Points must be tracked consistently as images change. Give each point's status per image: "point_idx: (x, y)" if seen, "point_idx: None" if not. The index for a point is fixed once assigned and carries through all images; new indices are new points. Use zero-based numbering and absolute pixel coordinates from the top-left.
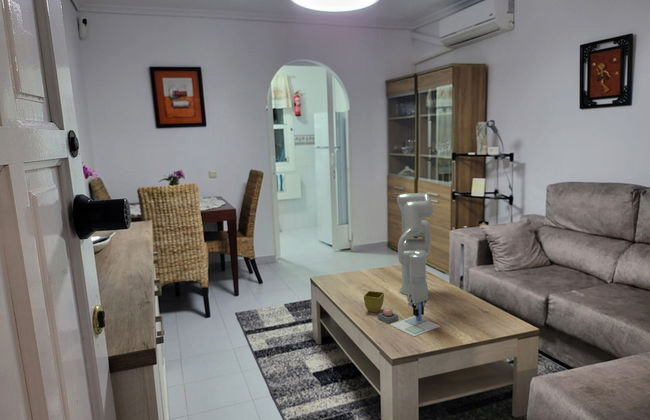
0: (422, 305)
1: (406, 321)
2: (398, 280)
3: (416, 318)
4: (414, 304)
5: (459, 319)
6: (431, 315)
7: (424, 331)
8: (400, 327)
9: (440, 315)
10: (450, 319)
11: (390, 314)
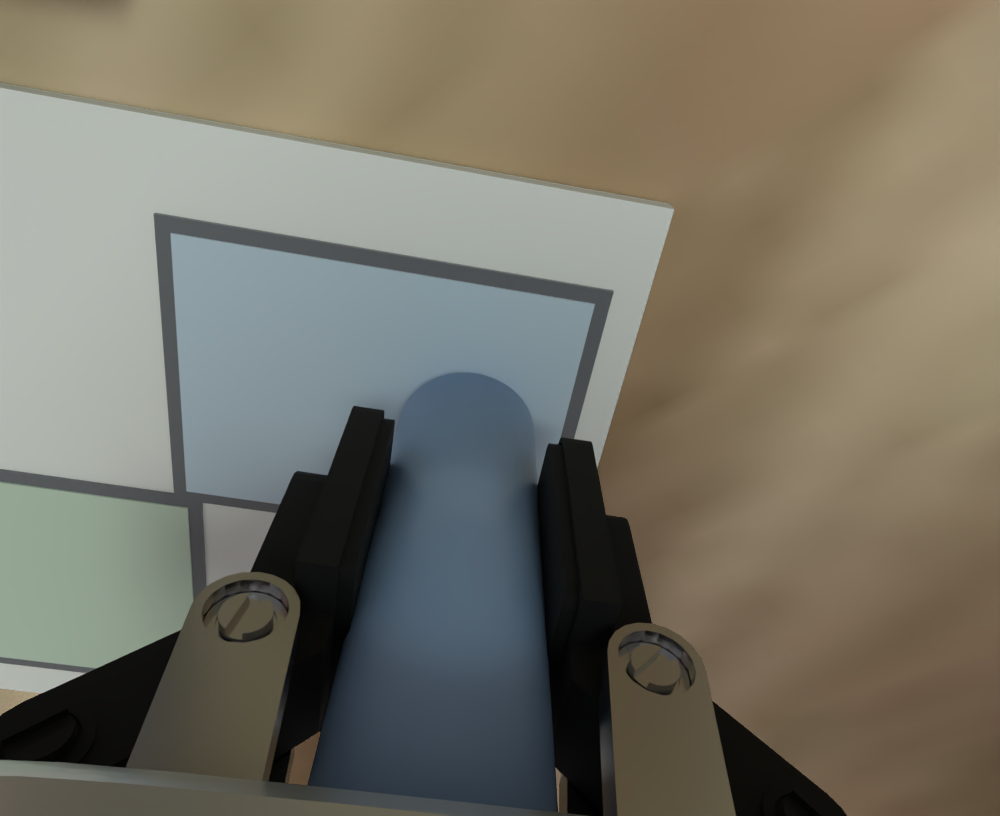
0: (566, 785)
1: (179, 266)
2: None
3: (395, 435)
4: (274, 730)
5: (920, 791)
6: (894, 450)
7: None
8: None
9: (970, 564)
10: (860, 724)
11: None
